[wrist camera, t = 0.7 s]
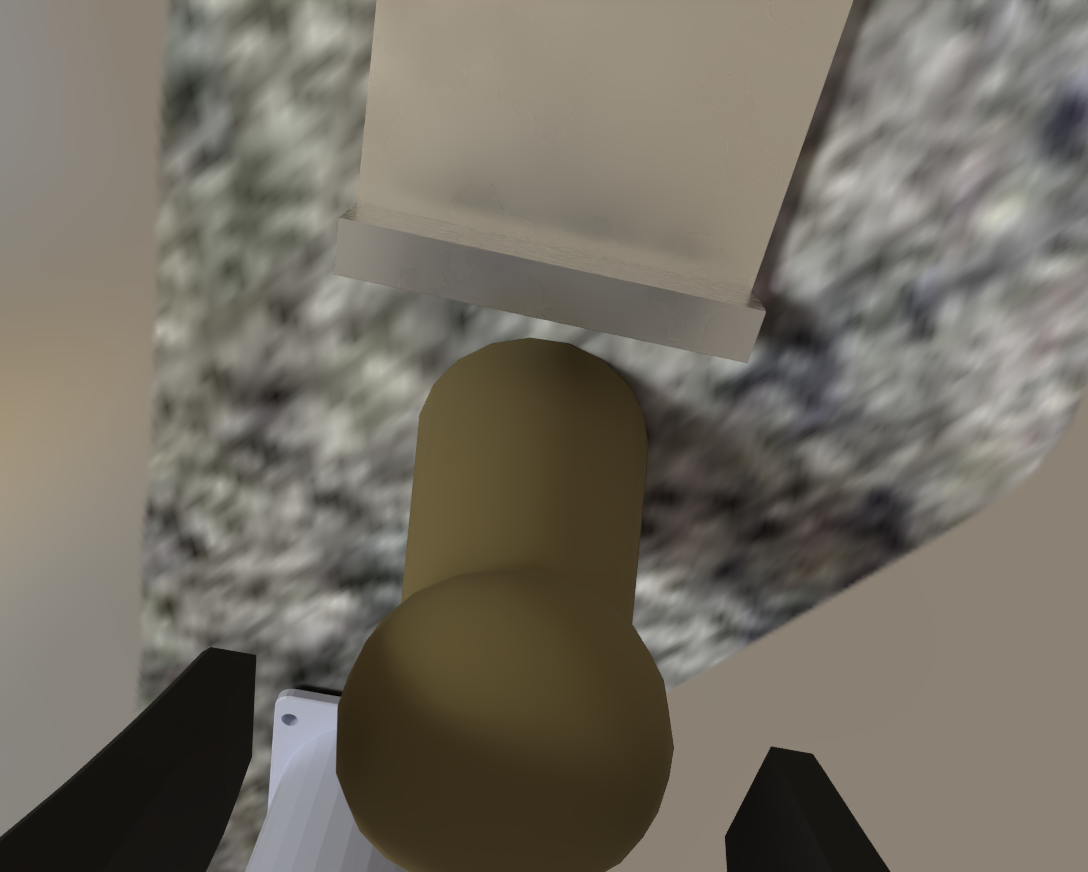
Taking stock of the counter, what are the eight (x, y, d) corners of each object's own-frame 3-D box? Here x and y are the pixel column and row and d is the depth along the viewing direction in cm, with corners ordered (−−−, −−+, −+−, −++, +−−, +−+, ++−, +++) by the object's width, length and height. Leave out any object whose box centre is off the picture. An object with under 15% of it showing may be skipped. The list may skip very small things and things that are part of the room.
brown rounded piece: (405, 338, 19) (234, 668, 9) (654, 337, 19) (740, 674, 9) (427, 541, 22) (312, 953, 12) (643, 542, 22) (700, 964, 12)
